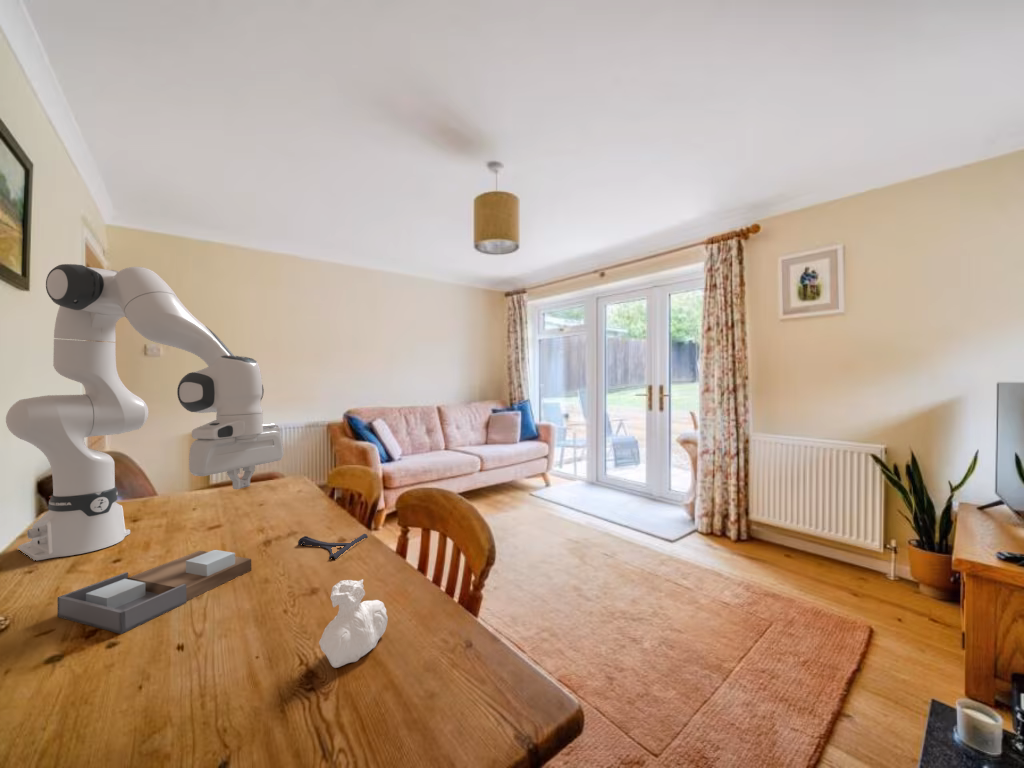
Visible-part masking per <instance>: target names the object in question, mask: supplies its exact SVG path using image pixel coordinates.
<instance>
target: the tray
mask: <svg viewBox="0 0 1024 768" xmlns="http://www.w3.org/2000/svg"><path fill="white" fill-rule="evenodd" d="M128 577H129V572H127V571H126V572H123V573H120V574H117V575H115V576H111V577H109V578H106V579H104V580H100V581H98V582H95V583H93V584H90V585H88V586H85V587H82V588H78V589H76V590H73V591H70V592H68V593H65V594H62V595H60V596H57V598H56V599H57V618H59V619H64V620H68V621H71V622H74V623H75V622H76V623H79V624H82V625H86V626H90V627H94V628H97V629H100V630H101V629H102V630H105V631H109V632H112V633H115V634H120V635H122V634H125V633H127V632H128V631H131V630H133V629H135V628H137V627H139V626H141V625H143V624H145V623H148V622H149V621H152V620H153V619H155V618H158V617H160V616H162V615H164V614H166V613H168V612H170V611H172V610H175V609H177V608H179V607H181V606H182V605H185V604H187V601H186V584H182V585H180V586H178V587H176V588H173V589H171V590H169V591H166V592H164V593H162V594H156V593H151V592H147V591H146V595H145V596H143V597H140V598H138V599H136V600H133V601H131V602H129V603H126V604H124V605H122V606H119V607H117V608H111V607H107V606H102V605H98V604H94V603H90V602H86V593H88V592H91V591H94V590H96V589H99V588H102V587H104V586H107V585H109V584H112V583H115V582H117V581H120V580H123V579H128Z"/></svg>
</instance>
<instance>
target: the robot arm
mask: <svg viewBox="0 0 1024 768" xmlns="http://www.w3.org/2000/svg"><path fill="white" fill-rule="evenodd" d="M45 289H46V293H47V295H48V297H49V298H50V300H51V301H52V302H53V303H54V304H56V305H57V306H59V308H58V311H57V313H56V318H55V321H54V330H53V361H52V362H53V365H52V366H53V368H54V371H56V373H58V374H59V375H60V376H62V377H64V378H67V379H68V380H72V381H74V382H77V383H79V384H82V386H83V387H84V391H85V393H83V394H58V395H57V394H54V395H53V394H52V395H50V394H49V395H41V396H34V397H29V398H23V399H19V400H18V401H16V402H15V403H13V404H12V405H11V406H10V407H9V410H7V412H6V417H5V423H6V427H7V428H8V431H9V432H10V433H11V434H12V435H14V437H16V438H18V439H20V440H22V441H25V442H27V443H29V444H31V445H33V446H34V447H36V448H37V449H39V450H40V451H41V453H42V454H43V455H44V456H45V457H46V459H47V460H48V462H49V466H50V471H51V475H52V477H51V478H52V489H53V491H52V492H53V493H52V495H50V496H48V498H50V499H49V500H48V505H47V509H48V511H47V512H45V514H44V515H43V516H41V517H40V518H39V519H37V521H35V522H34V523H33V525H32V528H30V529H27V530H26V531H27V533H26V535H27V538H28V539H29V540H30V541H27V542H24V543H22V544H19V545H18V546H17V549H18V548H19V549H20V550H21V551H22V552H23V553H25V554H26V555H28V556H29V557H30V558H29V557H28V556H27V557H28V558H29V559H31V558H32V559H33V560H32V559H31V560H32V561H35V560H36V561H43V560H47V559H48V560H49V559H53V558H59V557H60V558H61V557H69V556H74V555H81V554H86V553H91V552H94V551H98V550H102V549H105V548H108V547H111V546H113V545H116V544H119V543H120V542H122V541H124V539H125V537H126V536H128V535H130V534H131V529H129V528H128V529H127V528H126V525H125V517H124V509H123V505H122V504H119V503H117V502H116V501H118V493H119V492H118V486H116V481H115V480H116V479H115V478H116V476H115V475H116V474H115V473H116V472H115V470H116V467H115V464H116V463H115V460H114V458H113V457H112V456H111V455H110V454H108V453H107V452H103V451H100V450H96V449H92V448H89V447H88V446H86V444H85V438H88V437H89V438H91V437H99V436H113V435H120V434H125V433H128V432H132V431H136V430H139V429H141V428H142V427H143V426H144V425H146V423H147V420H148V418H149V413H150V412H149V407H148V404H147V403H146V402H145V401H144V399H143V398H141V397H140V396H138V395H136V394H135V393H133V392H132V391H130V390H129V389H128V388H127V386H125V385H124V383H123V381H122V380H121V378H120V375H119V373H118V369H117V358H116V356H117V354H116V353H117V352H116V350H117V348H116V346H117V345H116V344H117V343H116V342H117V340H116V339H117V337H116V328H117V327H116V326H117V322H119V320H120V319H122V318H124V317H125V318H126V319H127V320H128V322H129V324H130V325H131V327H132V328H133V329H134V330H135V331H136V332H137V333H138V334H140V335H141V336H142V337H143V338H145V339H147V340H149V341H151V342H154V343H156V344H161V345H165V346H168V347H172V348H176V349H180V350H182V351H185V352H188V353H191V354H193V355H195V356H197V357H199V359H201V360H202V361H204V363H205V364H206V365H207V367H205V368H202V369H199V370H197V371H193V372H188V373H187V374H185V375H184V376H183V377H182V378H181V380H180V381H179V383H178V385H177V391H176V394H177V399H178V401H179V404H180V405H181V406H182V407H183V408H184V409H185V410H186V411H188V412H191V413H198V414H205V413H206V414H207V413H216V414H215V415H216V418H215V419H214V420H212V421H210V422H208V423H206V424H203V425H200V426H198V427H196V428H194V429H192V430H191V437H192V439H195V440H194V441H193V442H192V443H191V445H190V447H189V456H188V458H189V459H188V470H189V472H190V473H191V475H192V476H196V477H206V476H211V475H216V474H221V473H226V474H227V476H228V478H229V479H230V480H231V482H232V488H233V490H240V489H245V488H248V487H250V486H251V479H252V477H253V475H254V472H255V471H256V466H259V465H264V464H269V463H273V462H278V461H282V459H283V457H284V455H285V454H284V446H283V445H284V444H283V439H282V436H281V428H280V427H279V426H278V425H277V424H276V423H268V424H265V423H264V415H263V414H264V413H263V412H264V410H263V408H262V405H261V402H262V399H263V396H264V392H265V391H264V385H263V380H262V379H263V378H262V372H261V367H260V365H259V362H258V360H255V359H254V358H251V357H247V356H239V355H234V354H233V352H232V351H231V350H230V349H229V348H228V347H227V346H226V344H225V343H224V342H223V341H222V340H221V339H220V338H219V337H218V335H216V333H214V332H213V331H212V330H211V329H210V328H209V327H208V326H206V325H205V324H204V323H202V322H201V321H200V320H199V319H197V317H195V316H194V315H193V314H192V313H191V312H190V310H189V309H188V308H187V307H186V306H185V305H184V303H183V302H182V301H181V299H179V297H178V296H177V294H176V293H175V291H174V290H173V288H171V286H170V285H169V284H168V283H167V282H166V281H165V280H164V279H163V278H162V277H161V276H160V275H159V274H158V273H157V272H155V271H153V270H152V269H149V268H147V267H143V266H131V267H125V268H124V269H123V268H122V269H121V270H114V269H105V268H100V267H99V268H98V267H91V266H86V265H83V264H75V263H74V264H72V263H69V264H68V263H64V264H58V265H57V266H55V267H53V268H52V269H51V270H49V272H48V274H47V276H46V280H45ZM241 469H242V472H243V475H242V476H241V478H240V476H239V474H241ZM23 553H22V554H23ZM25 554H24V555H25ZM26 555H25V556H26Z"/></svg>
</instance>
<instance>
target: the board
mask: <svg viewBox="0 0 1024 768" xmlns="http://www.w3.org/2000/svg"><path fill="white" fill-rule="evenodd" d="M208 552H209V551H203V550H197V551H194V552H191V553H190V554H186V555H184V556H182V557H179V558H176V559H173V560H171V561H168V562H165V563H163V564H160V565H158V566H155V567H152V568H150V569H146V570H144V571H141V572H139V573H136V574H134V575H131V576H128V579H129V580H134V581H139V582H143V583H145V590H146V591H147V592H151V593H156V594H162V593H164V592H166V591H169V590H171V589H173V588H176V587H178V586H180V585H182V584H186V602H188V601H190V600H192V599H194V598H197V597H199V596H200V595H203V594H204V593H207V592H209V591H211V590H213V589H215V588H217V587H219V586H221V585H224V584H225V583H227V582H230V581H231V580H234V579H236V578H238V577H241V576H242V575H244V574H246V573H249V572H251V571H252V558H247V557H241V556H236V555H235V564H234V565H232V566H230V567H227V568H225V569H223V570H221V571H218V572H216V573H214V574H212V575H209V576H201V575H196V574H191V573H186V561H187V560H190V559H192V558H195V557H197V556H200V555H202V554H205V553H208Z"/></svg>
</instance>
